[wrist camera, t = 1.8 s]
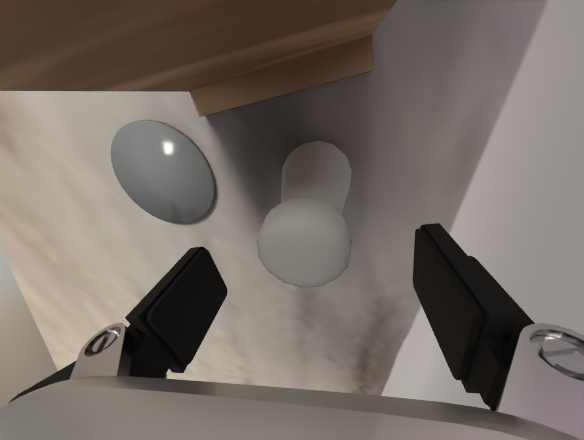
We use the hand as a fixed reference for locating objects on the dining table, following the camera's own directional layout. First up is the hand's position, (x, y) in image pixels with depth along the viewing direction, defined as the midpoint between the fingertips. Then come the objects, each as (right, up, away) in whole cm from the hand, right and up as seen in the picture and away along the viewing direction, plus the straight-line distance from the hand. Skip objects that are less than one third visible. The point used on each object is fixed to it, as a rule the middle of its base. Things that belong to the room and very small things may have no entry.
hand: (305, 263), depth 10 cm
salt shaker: (+2, +7, +10) cm, 13 cm away
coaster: (-14, +7, +13) cm, 20 cm away
